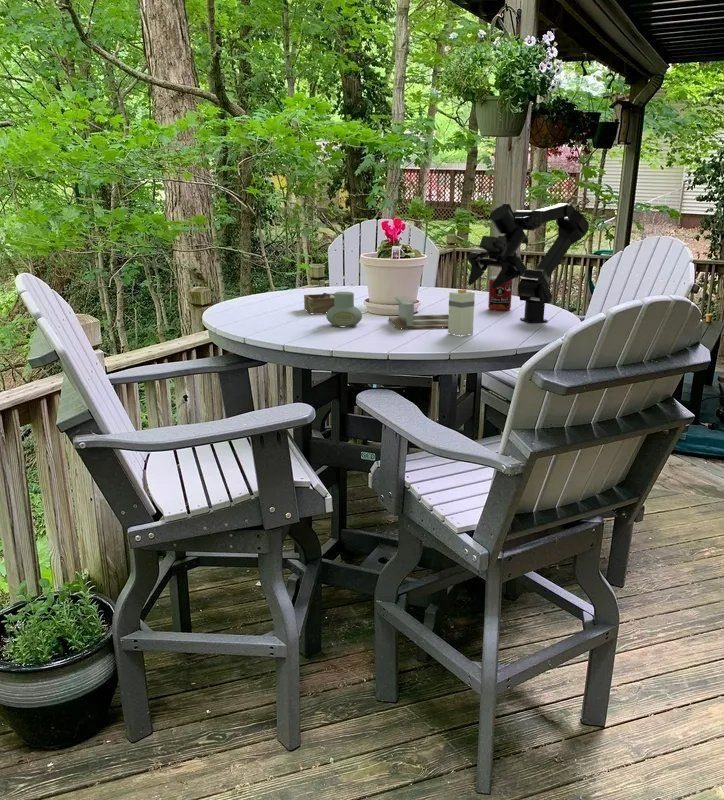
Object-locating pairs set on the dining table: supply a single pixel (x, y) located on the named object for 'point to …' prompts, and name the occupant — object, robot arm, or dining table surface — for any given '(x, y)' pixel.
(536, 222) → the robot arm
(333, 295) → the eagle figurine
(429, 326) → the board
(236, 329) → the dining table surface
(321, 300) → the brown wooden box
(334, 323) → the air freshener
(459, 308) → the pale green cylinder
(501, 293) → the canned food
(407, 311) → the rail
